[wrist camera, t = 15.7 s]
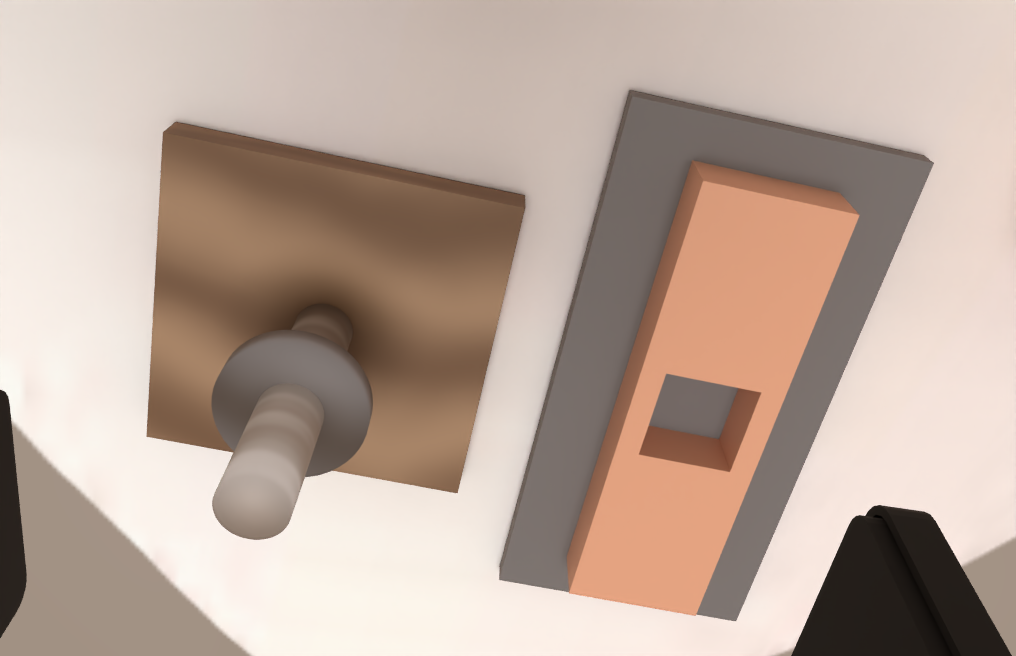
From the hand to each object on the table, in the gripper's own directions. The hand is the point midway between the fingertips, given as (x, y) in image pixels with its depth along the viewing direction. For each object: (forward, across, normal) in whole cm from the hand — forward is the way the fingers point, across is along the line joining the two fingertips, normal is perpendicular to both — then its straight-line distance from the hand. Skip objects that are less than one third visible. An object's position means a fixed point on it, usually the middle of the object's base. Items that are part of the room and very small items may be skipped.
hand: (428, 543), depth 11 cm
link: (+27, -11, +14) cm, 32 cm away
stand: (+28, +5, +13) cm, 31 cm away
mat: (+28, -11, +14) cm, 33 cm away
